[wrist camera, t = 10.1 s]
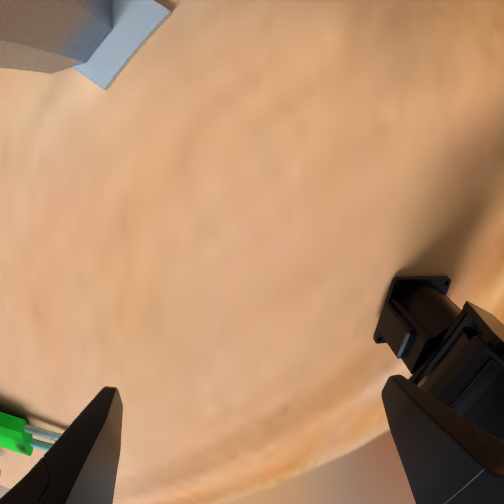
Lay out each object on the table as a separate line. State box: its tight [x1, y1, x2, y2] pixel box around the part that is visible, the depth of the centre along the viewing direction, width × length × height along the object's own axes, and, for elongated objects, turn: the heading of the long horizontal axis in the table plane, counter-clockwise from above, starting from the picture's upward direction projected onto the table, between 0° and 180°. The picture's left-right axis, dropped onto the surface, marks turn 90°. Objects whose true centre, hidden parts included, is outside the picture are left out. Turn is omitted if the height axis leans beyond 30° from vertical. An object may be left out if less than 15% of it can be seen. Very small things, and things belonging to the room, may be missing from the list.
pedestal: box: [72, 0, 171, 90], centre depth 12 cm, size 11×6×3 cm, turn 49°
